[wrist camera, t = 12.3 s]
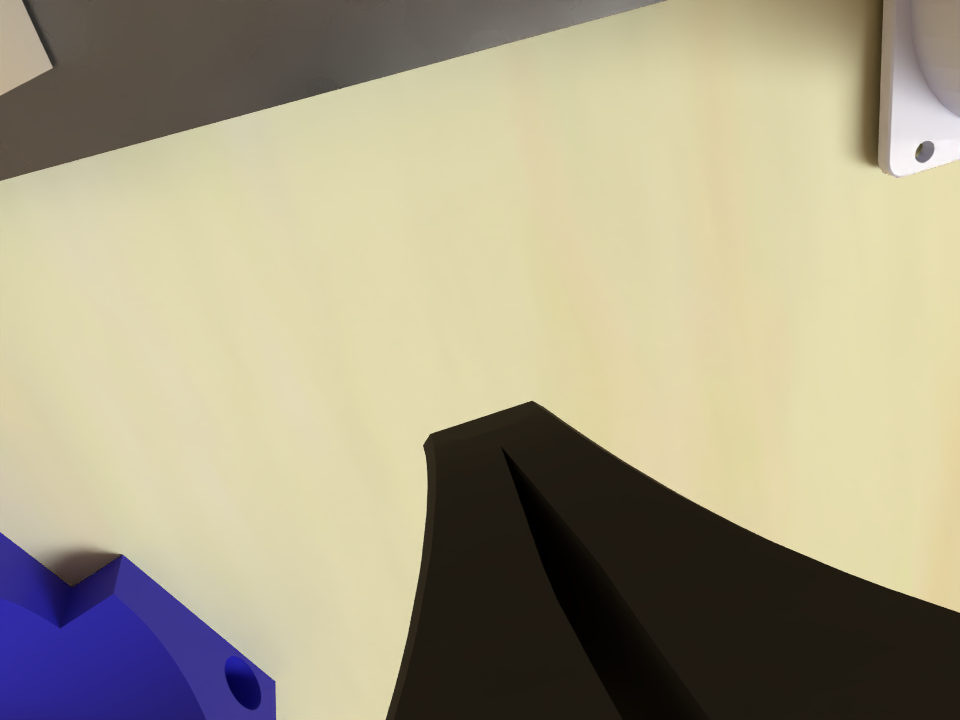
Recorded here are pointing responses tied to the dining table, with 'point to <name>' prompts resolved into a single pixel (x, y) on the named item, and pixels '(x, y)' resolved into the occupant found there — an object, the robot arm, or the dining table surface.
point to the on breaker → (19, 47)
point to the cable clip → (115, 650)
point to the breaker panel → (234, 61)
